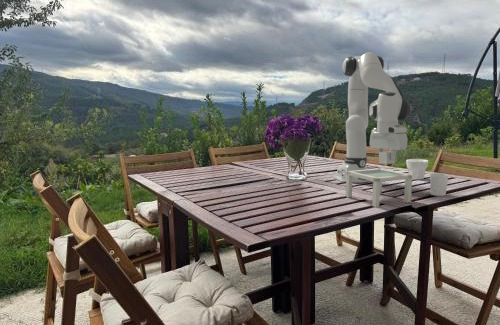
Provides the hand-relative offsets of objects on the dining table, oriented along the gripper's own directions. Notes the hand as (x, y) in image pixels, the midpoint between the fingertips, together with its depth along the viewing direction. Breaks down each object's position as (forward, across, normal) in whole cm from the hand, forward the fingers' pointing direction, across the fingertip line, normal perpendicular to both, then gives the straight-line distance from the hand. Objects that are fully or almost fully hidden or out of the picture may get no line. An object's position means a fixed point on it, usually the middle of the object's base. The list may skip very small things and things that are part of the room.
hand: (387, 158), depth 171 cm
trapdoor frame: (+19, -4, -2) cm, 20 cm away
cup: (+20, -36, +56) cm, 69 cm away
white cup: (+20, +1, +32) cm, 38 cm away
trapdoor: (+10, -3, -2) cm, 11 cm away
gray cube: (+2, 0, 0) cm, 2 cm away
